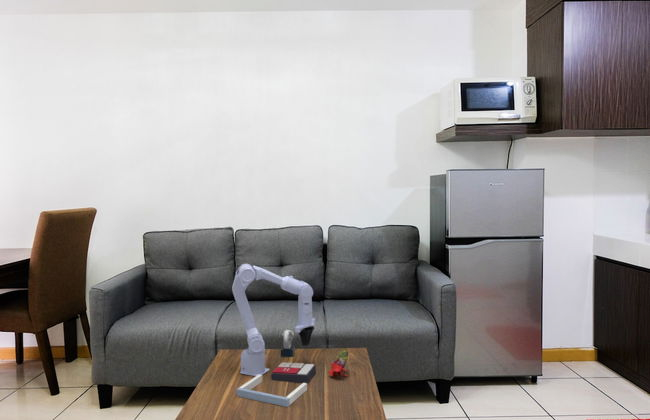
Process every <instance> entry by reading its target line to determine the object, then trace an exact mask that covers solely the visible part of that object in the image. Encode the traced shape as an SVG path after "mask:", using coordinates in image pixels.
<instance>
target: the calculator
mask: <svg viewBox="0 0 650 420" xmlns="http://www.w3.org/2000/svg"><path fill="white" fill-rule="evenodd" d="M316 367H317V366H316V364H315V363H314V364H313V363H306V364H305V363H303V362H302V363H301V362H284V361H283V362H281V363H280V364H278V366H276V368H275V369H273V371H271V374H270V376H271V381H278V382H285V383H286V382H288V383H297V384H302V383H307V385H308V384H309V383H310V382H311V381H312V379H313V378H314V376H316V374H317V368H316Z"/></svg>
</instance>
